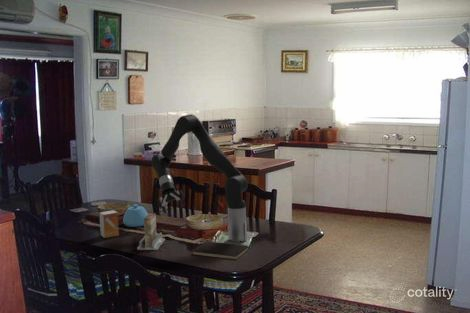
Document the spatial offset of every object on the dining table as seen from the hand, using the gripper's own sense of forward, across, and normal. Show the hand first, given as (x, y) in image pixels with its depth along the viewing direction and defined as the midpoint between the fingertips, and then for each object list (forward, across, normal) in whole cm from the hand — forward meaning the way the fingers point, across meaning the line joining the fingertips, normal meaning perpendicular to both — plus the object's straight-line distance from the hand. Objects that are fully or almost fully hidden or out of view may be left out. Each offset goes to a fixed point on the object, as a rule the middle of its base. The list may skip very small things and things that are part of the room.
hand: (173, 210), depth 279 cm
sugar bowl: (-14, -28, +24) cm, 40 cm away
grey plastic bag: (+16, -15, -2) cm, 22 cm away
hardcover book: (+35, +18, -4) cm, 39 cm away
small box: (-2, -38, +6) cm, 39 cm away
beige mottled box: (+15, -14, -3) cm, 21 cm away
